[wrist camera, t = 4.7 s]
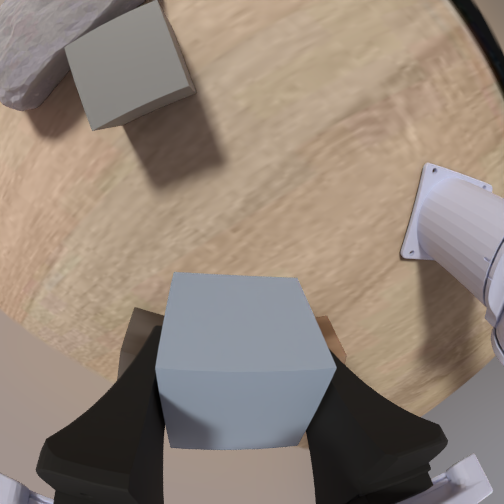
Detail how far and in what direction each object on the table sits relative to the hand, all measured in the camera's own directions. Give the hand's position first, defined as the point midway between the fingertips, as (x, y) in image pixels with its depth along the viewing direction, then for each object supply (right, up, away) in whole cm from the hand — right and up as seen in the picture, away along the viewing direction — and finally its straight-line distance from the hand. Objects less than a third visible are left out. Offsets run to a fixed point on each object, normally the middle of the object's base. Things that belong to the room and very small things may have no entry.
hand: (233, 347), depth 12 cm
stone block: (-13, +20, 0) cm, 24 cm away
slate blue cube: (0, +1, +1) cm, 2 cm away
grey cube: (-6, +15, +3) cm, 16 cm away
